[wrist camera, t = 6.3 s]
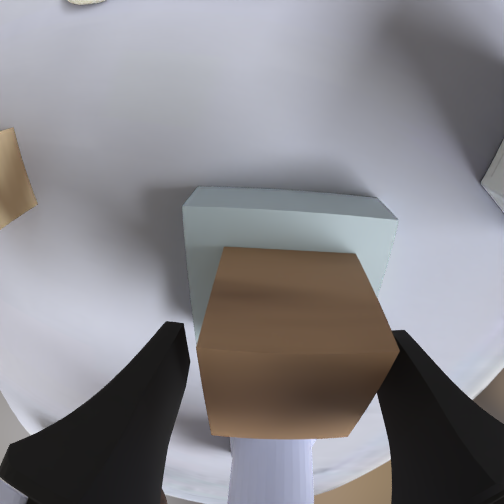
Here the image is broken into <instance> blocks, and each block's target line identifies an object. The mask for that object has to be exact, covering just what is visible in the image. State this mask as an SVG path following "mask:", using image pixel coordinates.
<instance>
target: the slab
mask: <svg viewBox="0 0 504 504" xmlns="http://www.w3.org/2000/svg"><path fill="white" fill-rule="evenodd" d="M182 213H183V227H184V239H185V251H186V262H187V272H188V281H189V290H190V299H191V307H192V315H193V323H194V331H195V338H196V345H197V342H198V338H199V335H200V331H201V327H202V323H203V320H204V316H205V312H206V309H207V305H208V301H209V298H210V294H211V290H212V287H213V283H214V280H215V276H216V273H217V269H218V266H219V262H220V259H221V255H222V252H223V248H224V247H243V248H262V249H281V250H300V251H318V252H336V253H353V254H356V255H357V257H358V259H359V261H360V263H361V265H362V267H363V269H364V271H365V273H366V275H367V277H368V279H369V282H370V284H371V286H372V288H373V290H374V292H375V294H376V297H378V294H379V291H380V288H381V284H382V281H383V278H384V275H385V271H386V268H387V264H388V261H389V257H390V254H391V250H392V246H393V242H394V239H395V235H396V231H397V226H398V222H399V220H398V219H397V218H396V217H395V215H394V214H393V213H392V212H391V211H390V210H389V209H388V208H387V207H386V206H385V205H384V204H383V203H382V202H381V201H380V200H379V199H378V198H373V197H364V196H355V195H345V194H335V193H323V192H311V191H298V190H283V189H265V188H243V187H212V186H198V187H197V188H196V189H195V191H194V192H193V193H192V194H191V196H190V197H189V198H188V199H187V201H186V202H185V203H184V204H183V206H182Z"/></svg>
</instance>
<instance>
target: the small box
mask: <svg viewBox="0 0 504 504" xmlns="http://www.w3.org/2000/svg"><path fill="white" fill-rule="evenodd" d="M481 185H482V186H483V187H484V189H485V190H486V191H487V192H488V193H489V195H490V196H491V197H492V198H493V200H494V201H495V202H496V203H497V205H498V206H499V207H500V209H501V210H502V211H503V213H504V139H503V141H502V143H501V145H500V147H499V149H498V151H497V153H496V156H495V158H494V159H493V161H492V163H491V165H490V167H489V169H488V171H487V172H486V174H485V176H484V178H483V179H482V181H481Z"/></svg>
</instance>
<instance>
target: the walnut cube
mask: <svg viewBox="0 0 504 504" xmlns="http://www.w3.org/2000/svg"><path fill="white" fill-rule="evenodd" d="M196 350H197V357H198V363H199V369H200V376H201V382H202V387H203V393H204V399H205V404H206V409H207V415H208V420H209V425H210V430H211V435H215V436H225V437H237V438H252V439H323V438H338V437H348V435H349V434H350V432H351V431H352V430H353V428H354V427H355V425H356V424H357V422H358V421H359V419H360V418H361V416H362V415H363V413H364V412H365V410H366V409H367V407H368V406H369V404H370V403H371V401H372V399H373V398H374V396H375V394H376V393H377V391H378V389H379V388H380V386H381V384H382V383H383V381H384V379H385V377H386V376H387V374H388V372H389V370H390V369H391V367H392V365H393V363H394V361H395V359H396V357H397V356H398V354H399V352H400V350H399V348H398V345H397V343H396V340H395V338H394V336H393V333H392V331H391V328H390V326H389V324H388V321H387V319H386V317H385V314H384V312H383V310H382V308H381V305H380V303H379V301H378V299H377V297H376V294H375V292H374V290H373V288H372V286H371V284H370V282H369V279H368V277H367V275H366V273H365V271H364V269H363V267H362V265H361V263H360V261H359V259H358V257H357V255H356V254H353V253H336V252H318V251H300V250H281V249H262V248H243V247H224V248H223V252H222V255H221V259H220V262H219V266H218V269H217V273H216V276H215V280H214V283H213V287H212V290H211V294H210V298H209V301H208V305H207V309H206V312H205V316H204V320H203V323H202V327H201V331H200V335H199V338H198V342H197V346H196Z"/></svg>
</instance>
